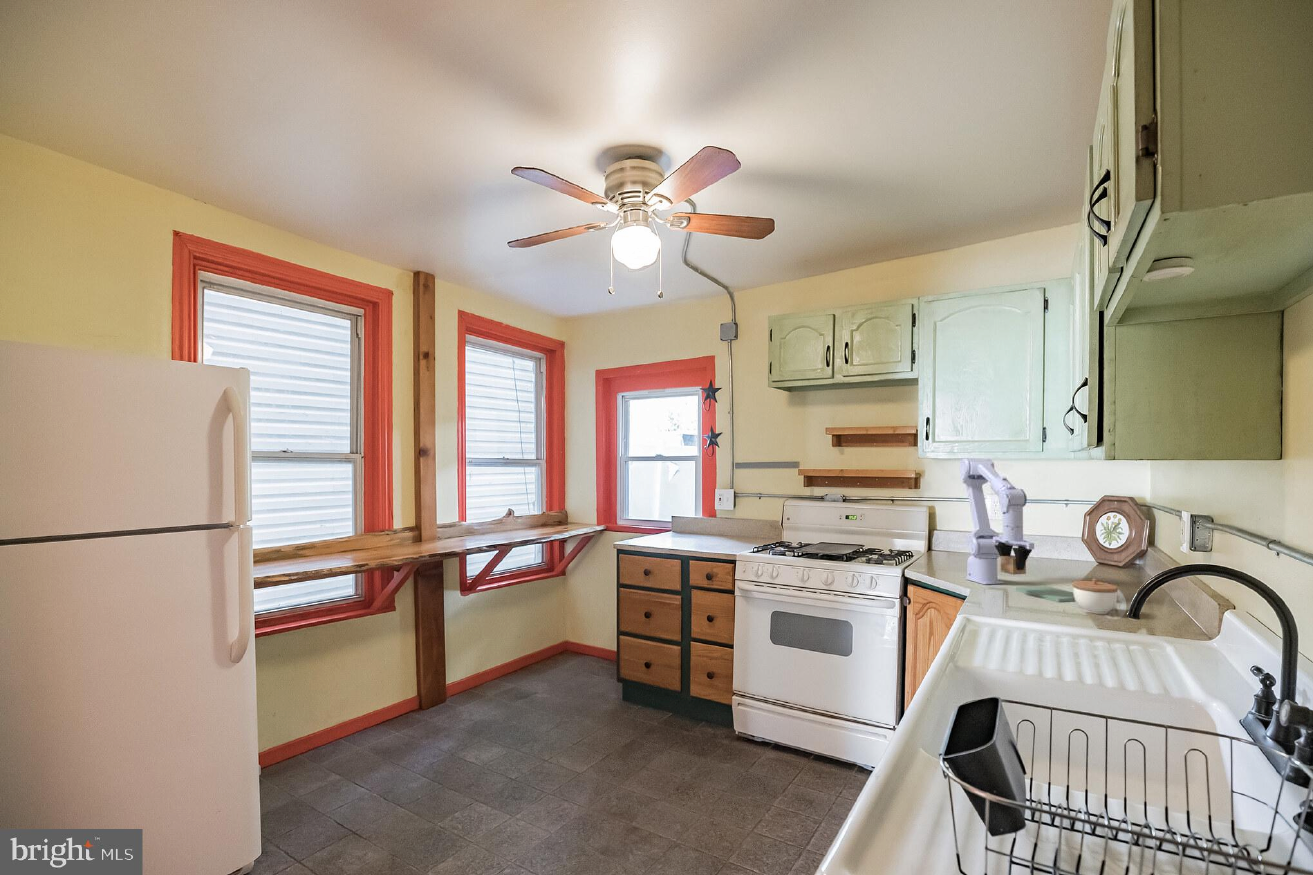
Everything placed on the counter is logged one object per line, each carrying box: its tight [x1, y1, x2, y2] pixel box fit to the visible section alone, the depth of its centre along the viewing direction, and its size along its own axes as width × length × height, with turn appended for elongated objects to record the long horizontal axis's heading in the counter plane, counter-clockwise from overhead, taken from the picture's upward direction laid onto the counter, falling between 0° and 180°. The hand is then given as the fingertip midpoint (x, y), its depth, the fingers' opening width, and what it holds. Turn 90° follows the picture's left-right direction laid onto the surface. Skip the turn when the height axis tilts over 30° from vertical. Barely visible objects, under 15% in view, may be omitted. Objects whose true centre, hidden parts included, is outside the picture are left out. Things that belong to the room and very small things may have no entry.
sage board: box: [1015, 584, 1076, 603], centre depth 197 cm, size 16×12×1 cm
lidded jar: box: [1071, 578, 1119, 615], centre depth 177 cm, size 11×11×9 cm
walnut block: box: [1000, 555, 1027, 576], centre depth 198 cm, size 5×5×5 cm
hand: (1013, 568), depth 198 cm, fingers closed on walnut block, 5 cm apart
